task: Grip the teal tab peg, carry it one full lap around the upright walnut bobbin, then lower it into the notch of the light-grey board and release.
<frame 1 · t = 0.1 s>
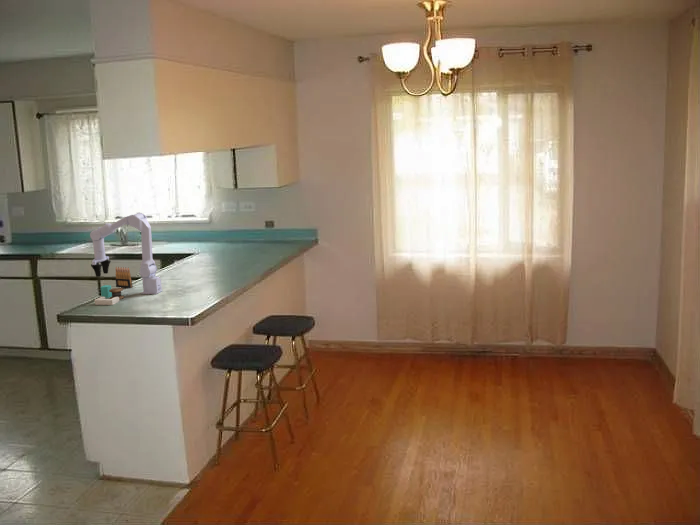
hand: (102, 274, 385), 10 cm above the counter, fingers open, 7 cm apart
ammunition clip: (124, 287, 398), on the counter
notched board: (107, 303, 363), on the counter
tab peg: (107, 296, 377), on the counter
bobbin: (116, 298, 372), on the counter
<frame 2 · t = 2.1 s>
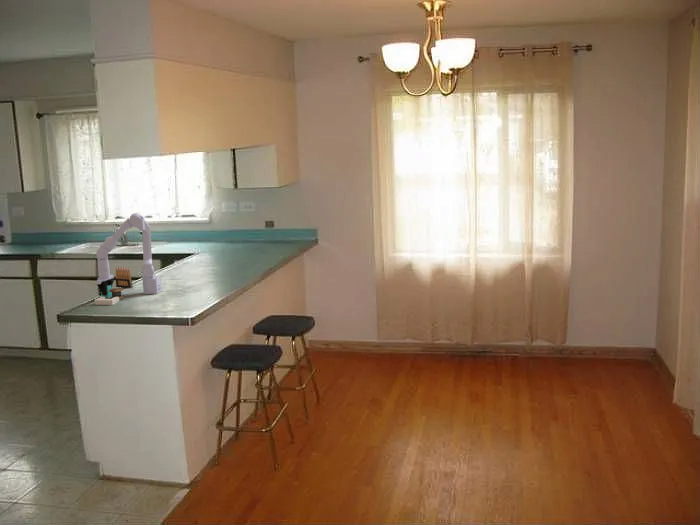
hand: (106, 294, 376), 1 cm above the counter, fingers closed on tab peg, 4 cm apart
tab peg: (107, 296, 377), on the counter, touching gripper
everything else where it was.
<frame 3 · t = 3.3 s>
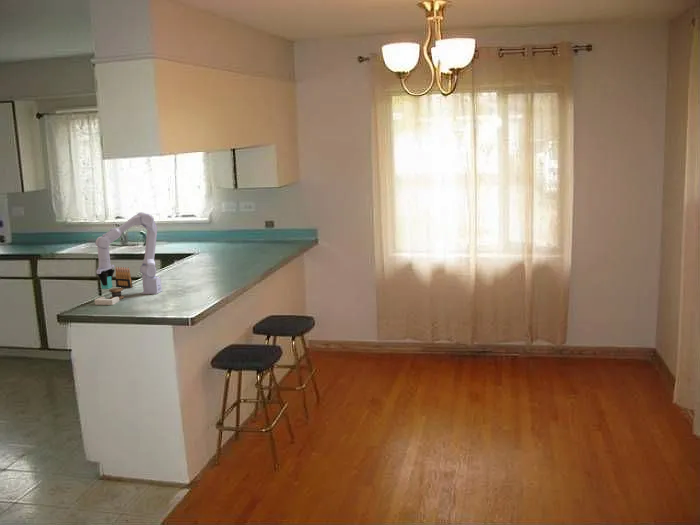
hand: (107, 284, 368), 8 cm above the counter, fingers closed on tab peg, 4 cm apart
tab peg: (107, 288, 369), point 6 cm above the counter, touching gripper
everything else where it was.
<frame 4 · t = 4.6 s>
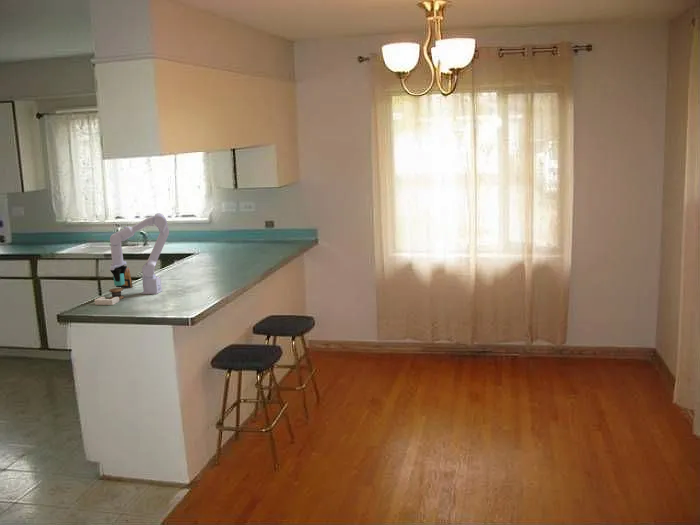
hand: (119, 280, 377), 8 cm above the counter, fingers closed on tab peg, 4 cm apart
tab peg: (119, 284, 377), point 6 cm above the counter, touching gripper
everything else where it was.
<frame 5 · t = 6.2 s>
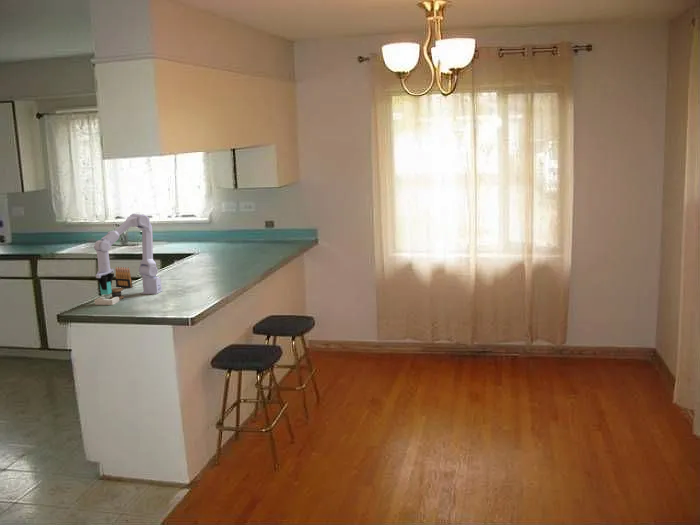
hand: (106, 288, 362), 8 cm above the counter, fingers closed on tab peg, 4 cm apart
tab peg: (106, 293, 363), point 5 cm above the counter, touching gripper
everything else where it was.
when the fingers open (3 cm above the counter, at t = 7.3 s): tab peg stays where it is, resting on notched board.
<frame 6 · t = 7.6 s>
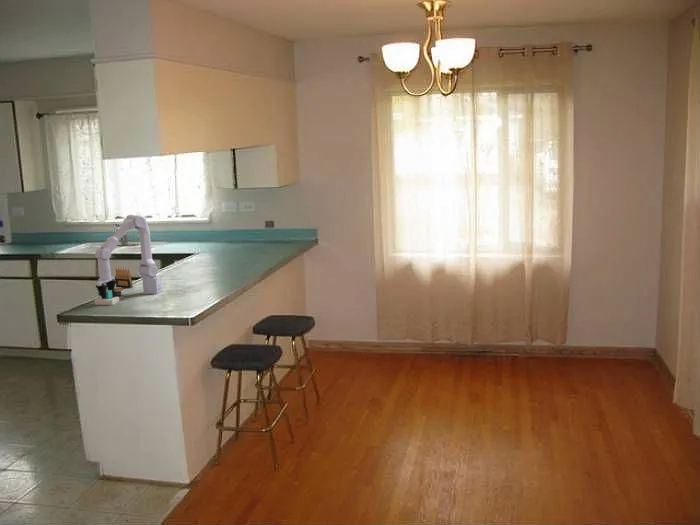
hand: (107, 296, 363), 3 cm above the counter, fingers open, 7 cm apart
tab peg: (107, 302, 364), resting on notched board
everything else where it was.
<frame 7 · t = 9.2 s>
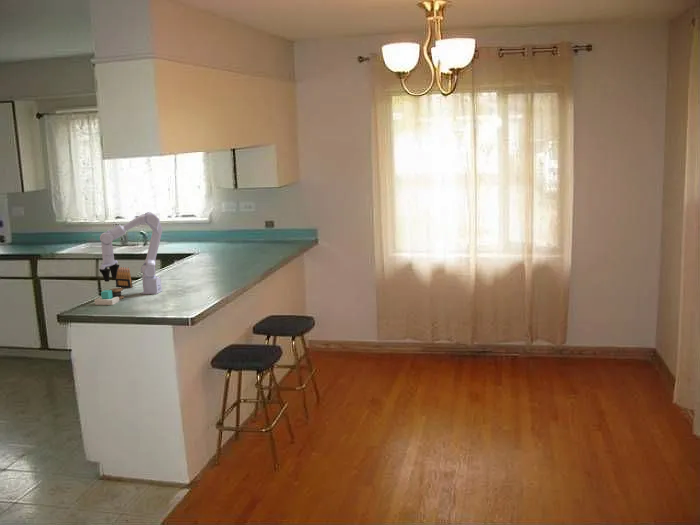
hand: (110, 279, 372), 10 cm above the counter, fingers open, 7 cm apart
nothing on the counter moved.
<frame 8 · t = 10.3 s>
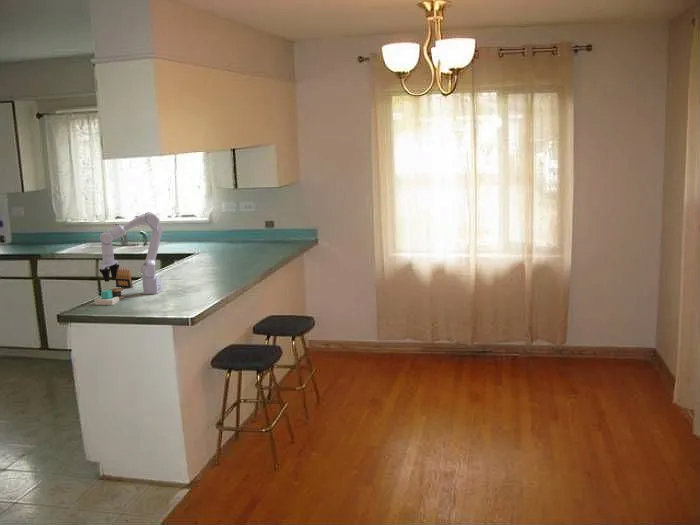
hand: (110, 279, 372), 10 cm above the counter, fingers open, 7 cm apart
nothing on the counter moved.
at the end: tab peg 0.5 cm from the target spot on the notched board, point 0.2 cm above the notched board's base; tab peg tilted 0°; the gripper is holding nothing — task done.
